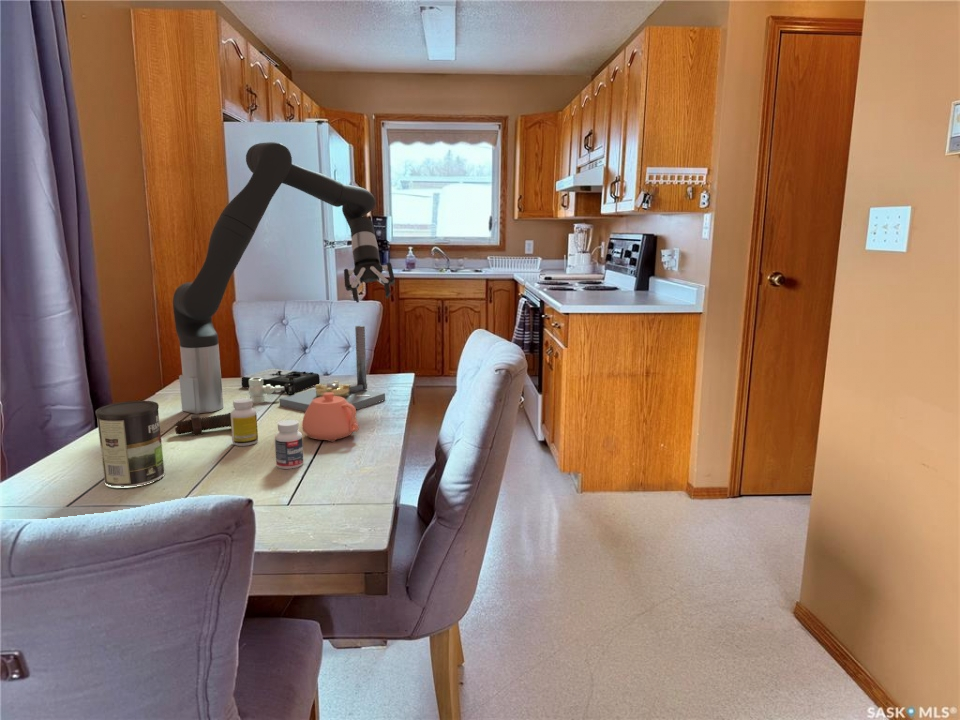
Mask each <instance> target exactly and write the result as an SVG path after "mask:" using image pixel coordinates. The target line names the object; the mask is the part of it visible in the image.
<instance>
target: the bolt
mask: <svg viewBox="0 0 960 720" xmlns="http://www.w3.org/2000/svg"><path fill="white" fill-rule="evenodd" d="M174 426H175V428H174V430H175V433H176V434H177V435H185V434H191V433H192V435H193V434H194V435H193V436H199V435H198V434H201V435H203V432H204V431H210V430H216V429H224V428H229V427H230V428H231V412H228V413H224V414H223V413H222V414H217V415H211V416H204V417H201V415H199V414H192V415H191V416H190V418H189V419H185V420H177V422H175V423H174Z"/></svg>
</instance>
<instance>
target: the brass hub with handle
mask: <svg viewBox="0 0 960 720" xmlns="http://www.w3.org/2000/svg"><path fill="white" fill-rule="evenodd" d="M354 331H355V353H356V354H355V355H356V359H355V360H356V383H352V384H343V383H340V381H339V380H334V381H333V382H329V383H327V384H321V383H320V384H316V385H315V386H314V387H315V388H314V389H316V396H317V397H323V394H324V393H327V392H332V393H334V396H340V397H343V398H344V397H347V396H349V395H350V392H352V391H357V390H368V383H367V355H366V354H367V353H366V326H365V325H356V326H355V330H354Z"/></svg>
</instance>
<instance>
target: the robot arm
mask: <svg viewBox="0 0 960 720" xmlns="http://www.w3.org/2000/svg"><path fill="white" fill-rule="evenodd" d="M292 158H293V157H292V153H291V150H289V148H288V147H287V146H286V145H284V144H283V143H280V142H275V141H271V142H270V141H269V142H259V143H255V144H253V145H252V146H250V147H249V148H248V150H247V152H246V154H245V163H246V165H247V168H248V169H249V171H250V172H251V173H252V175H251V177H250V179H249V180H248V182H247V183H246V185H245V186H244V187H243V189H242V190H241V191H240V192H238V193H237V194H236V195H235V197H234V198H232V199H231V200H230V201H229V203H228V204H227V205H226V206H225V208H224V209H223V210H222V211H221V213H220V215H219V217H218V219H217V221H216V223H215V224H214V227H213V229H212V231H211V234H210V238H209V242H208V246H207V252H206V256H205V257H206V258H205V261H204V263H203V265H202V266H201V268H200V270H199V272H198V273H197V275H196V277H195V279H193V281H192V282H191V281H190V282H185V283H182V284H180V285H179V286H178V287H177V288H176V289H175V291H174V293H173V297H172V308H173V318H174V325H175V331H176V334H177V337H178V340H179V341H178V342H179V349H180V361H181V362H180V363H181V373H182V374H180V375H179V376H178V379H179V389H180V390H179V391H180V401H181V411H183V412H187V413H190V414H193V415H199V414H204V413H205V414H206V413H212V412H217V411H219V410H222V409H223V408H224V398H223V397H224V396H223V386H222V385H223V383H222V373H221V371H222V370H221V358H220V348H219V347H220V346H219V344H220V343H219V335H218V332H217V330H216V328H215V327H214V324H213V318H212V317H213V316H214V315H215V314H216V312H218V310H219V307H220V305H221V303H222V300H223V298H224V295H225V291H226V289H227V287H228V284H229V282H230V280H231V277H232V275H233V273H234V272H235V270H236V268H237V267H238V264H239V262H240V261H241V259H242V257H243V255H244V253H245V251H246V250H247V248H248V246H249V245H250V242H251V241H252V239H253V236H254V235H255V233H256V231H257V229H258V226H259V224H260V222H261V220H262V218H263V216H264V215H265V214H266V213H265V212H266V210H267V209H268V206H269V205H270V203H271V200H272V199H273V197H274V196H275V194H276V193H277V191H278V190H279V188H280V187H281V185H282V184H283V185H286V186H290V187H292V188H295V189H297V190H298V191H301V192H303V193H305V194H308V195H309V196H312V197H314V198H316V199H318V200H319V201H322V202H324V203H326V204H328V205H330V206H333V207H336V208H339V207H341V211H342V214H343V216H344V219H345V220H346V223H347V225H348V227H349V229H350V238H351V250H352V258H353V264H354V265H353V266H354V268H353V269H348V268H345V269H343V277H344V287H345V290H346V291H348V292H350V291H351V292H352V298H353V301H354V302H355V301H356V303H360V301H359V300H360V299H359V292H358V289H359V288H360V287H361V286H362V284H363V283H365V284H369V283H371V282H372V283H374V282H376V281H377V282H378V283H380V284H382V285H383V287H384V294H385V299H389V297H390V296H391V288H390V286H392V285H395V283H396V281H395V279H396V278H395V275H394V272H393V266H392V263H391V262H388V263H387V264H386V265H385V264H384V265H382V263H381V260H380V254H379V246H378V242H377V237H376V233H375V226H374V222H373V221H372V219H370V218H369V217H366V215H368V214H369V213H370V212H372V211H373V210H374V209H375V207H376V203H377V202H376V198H375V197H374V194H372V192H370V191H369V190H367V189H366V188H364V187H360V186H355V185H350V184H344V183H341V182H339V181H337V180H336V179H334V178H332V177H330V176H328V175H326V174H324V173H320V172H317V171H314V170H312V169H308V168H305V167H302V166H300V165H298V164H295V163H293V159H292ZM383 271H385V273H387V274H388V276H389V278H388V279H387V278H386V277H385V276H384V274H382V273H383ZM353 275H354V276H355V279H354V281H353V283H351V278H352V277H353Z"/></svg>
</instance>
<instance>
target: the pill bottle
mask: <svg viewBox="0 0 960 720" xmlns="http://www.w3.org/2000/svg"><path fill="white" fill-rule="evenodd" d="M299 425H300V424H299V421H298V420H296V419H285V420H280V421H278V422H277V431H278V432H277V433H276V434H275V436H274V445H275V462H276V463H275V464H276V467H277V468H279V469H283V470H290V469H292V468H293V469H297V468H300V467H302V466H303V464H304V446H303V445H304V443H303V434H302V432H301V431H299V428H300V427H299Z"/></svg>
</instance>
